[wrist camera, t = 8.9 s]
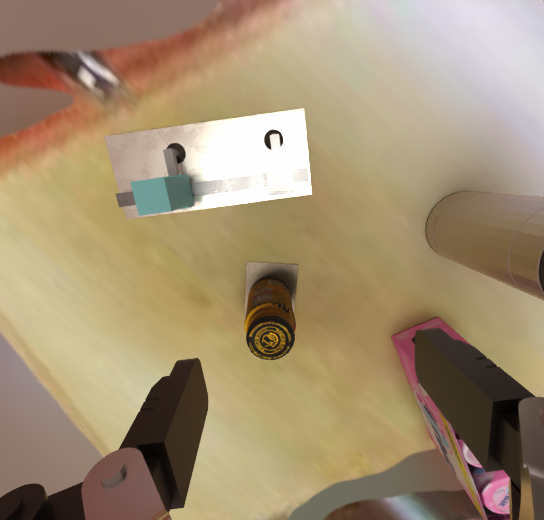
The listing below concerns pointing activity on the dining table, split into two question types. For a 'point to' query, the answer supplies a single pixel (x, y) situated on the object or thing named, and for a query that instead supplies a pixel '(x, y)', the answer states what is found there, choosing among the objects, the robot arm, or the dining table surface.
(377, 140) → the dining table surface
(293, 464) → the dining table surface
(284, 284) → the condiment
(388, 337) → the dining table surface
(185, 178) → the leg
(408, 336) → the gum box
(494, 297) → the dining table surface
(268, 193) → the hole plate
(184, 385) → the robot arm
